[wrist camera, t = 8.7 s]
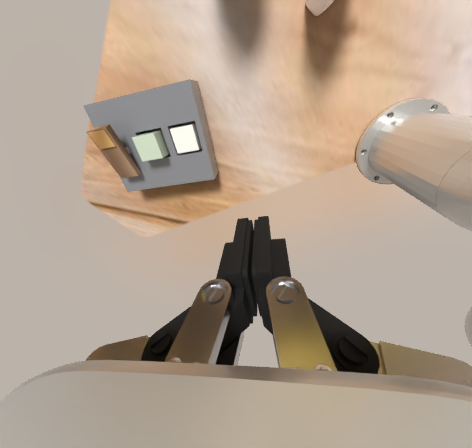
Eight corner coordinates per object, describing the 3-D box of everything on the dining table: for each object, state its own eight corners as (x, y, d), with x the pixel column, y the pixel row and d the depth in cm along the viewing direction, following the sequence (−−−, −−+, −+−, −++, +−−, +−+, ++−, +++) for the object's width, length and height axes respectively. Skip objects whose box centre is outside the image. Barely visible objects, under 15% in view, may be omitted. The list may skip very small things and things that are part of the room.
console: (197, 81, 29) (187, 79, 25) (218, 171, 37) (213, 181, 32) (101, 104, 32) (77, 106, 28) (138, 183, 40) (124, 194, 36)
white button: (197, 122, 31) (192, 124, 28) (203, 145, 33) (198, 149, 30) (177, 126, 32) (169, 129, 29) (184, 148, 34) (177, 153, 31)
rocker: (109, 124, 28) (104, 128, 27) (140, 171, 33) (137, 176, 33) (90, 128, 28) (85, 132, 27) (124, 174, 34) (121, 179, 33)
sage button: (162, 129, 31) (153, 133, 28) (170, 152, 33) (162, 158, 30) (142, 133, 31) (131, 137, 29) (151, 156, 33) (142, 161, 31)
